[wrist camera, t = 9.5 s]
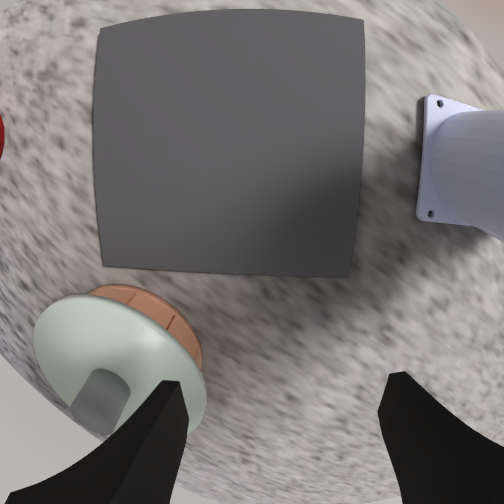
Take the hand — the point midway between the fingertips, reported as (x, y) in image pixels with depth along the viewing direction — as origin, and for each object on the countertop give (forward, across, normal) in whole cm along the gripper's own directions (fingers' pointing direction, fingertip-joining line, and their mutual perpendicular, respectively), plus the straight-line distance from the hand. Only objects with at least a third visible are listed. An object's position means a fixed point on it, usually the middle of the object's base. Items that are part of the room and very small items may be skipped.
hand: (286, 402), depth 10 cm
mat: (+10, +3, -8) cm, 14 cm away
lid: (+7, +11, +6) cm, 14 cm away
